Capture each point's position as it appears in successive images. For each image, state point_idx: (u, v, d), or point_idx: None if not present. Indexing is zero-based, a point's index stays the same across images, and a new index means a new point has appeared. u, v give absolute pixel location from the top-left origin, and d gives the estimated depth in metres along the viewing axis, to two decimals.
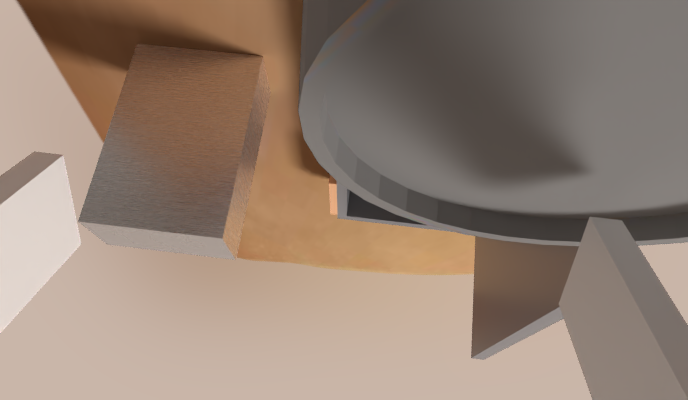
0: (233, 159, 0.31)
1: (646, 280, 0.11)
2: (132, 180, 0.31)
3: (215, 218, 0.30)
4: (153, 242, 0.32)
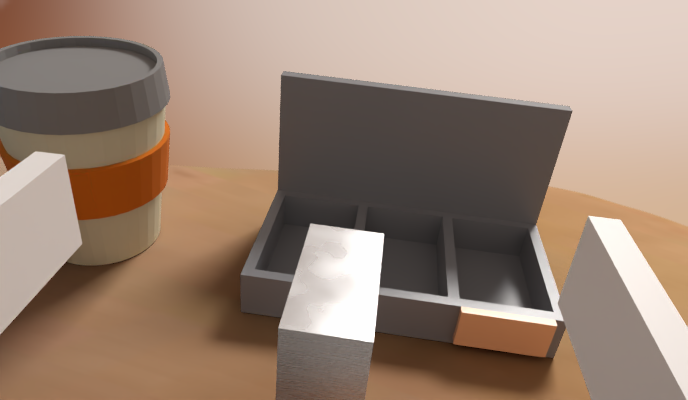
0: None
1: (644, 279, 0.11)
2: None
3: None
4: (343, 283, 0.26)
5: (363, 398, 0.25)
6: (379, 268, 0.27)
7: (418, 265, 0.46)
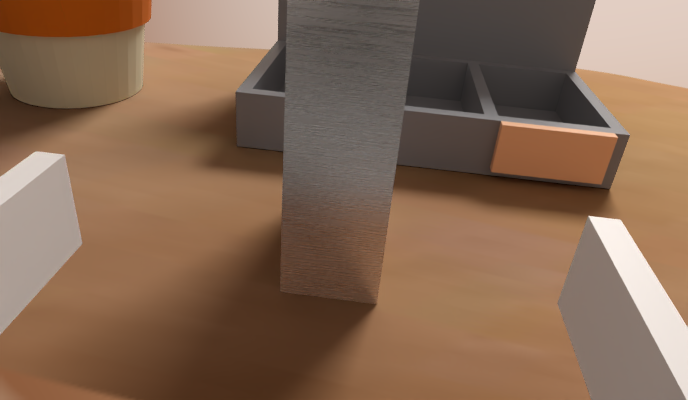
0: None
1: (644, 279, 0.11)
2: None
3: None
4: None
5: (402, 107, 0.18)
6: None
7: None
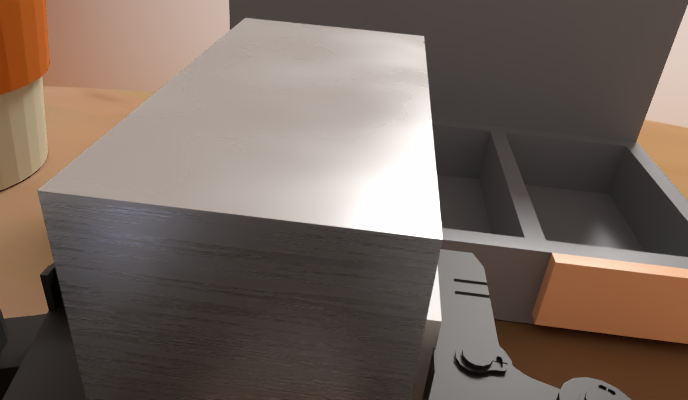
0: None
1: None
2: None
3: None
4: (320, 97, 0.08)
5: None
6: (424, 78, 0.10)
7: (455, 205, 0.29)
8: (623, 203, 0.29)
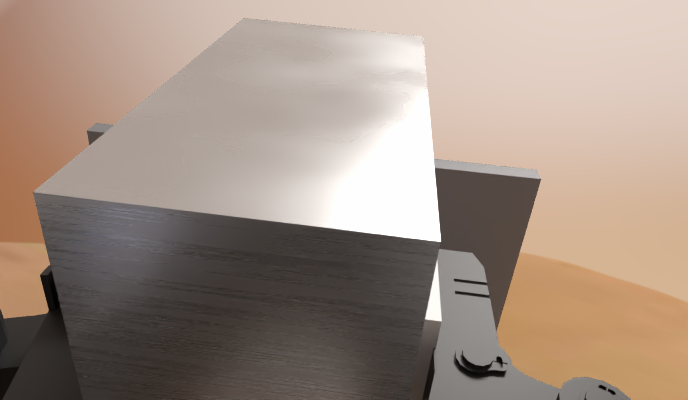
0: None
1: None
2: None
3: None
4: (319, 98, 0.08)
5: None
6: (423, 79, 0.09)
7: None
8: None
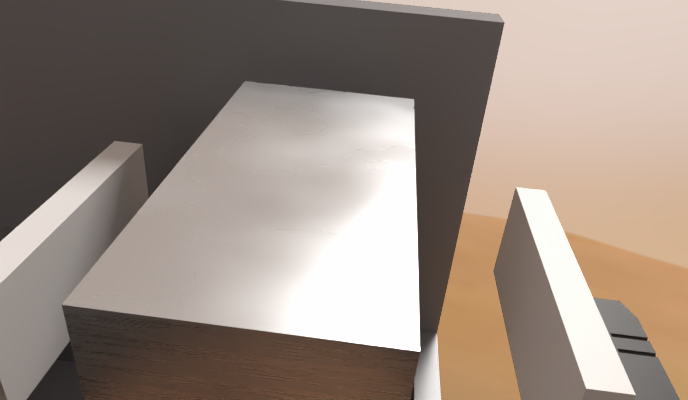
0: None
1: (555, 240, 0.12)
2: None
3: None
4: (315, 182, 0.09)
5: None
6: (411, 155, 0.10)
7: None
8: None
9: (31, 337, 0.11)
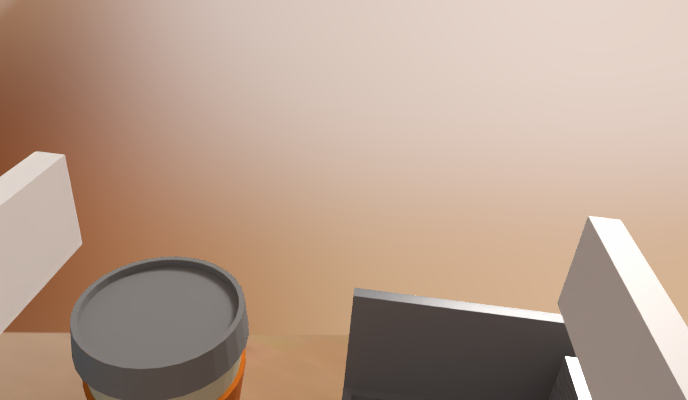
0: None
1: (644, 279, 0.11)
2: None
3: (563, 372, 0.42)
4: None
5: None
6: None
7: None
8: None
9: None
